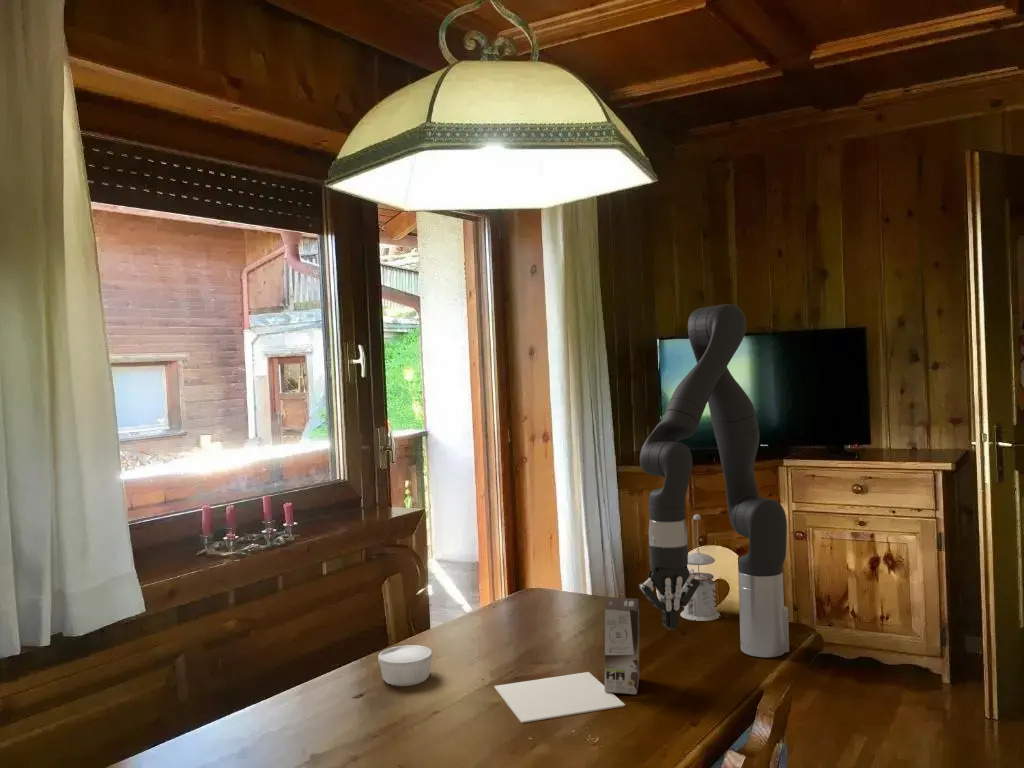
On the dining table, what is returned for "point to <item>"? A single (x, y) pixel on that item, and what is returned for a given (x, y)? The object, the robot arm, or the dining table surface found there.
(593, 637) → the dining table surface
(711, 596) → the french press
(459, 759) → the dining table surface
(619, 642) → the coffee box
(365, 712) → the dining table surface
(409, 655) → the ramekin
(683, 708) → the dining table surface
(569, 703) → the mat
